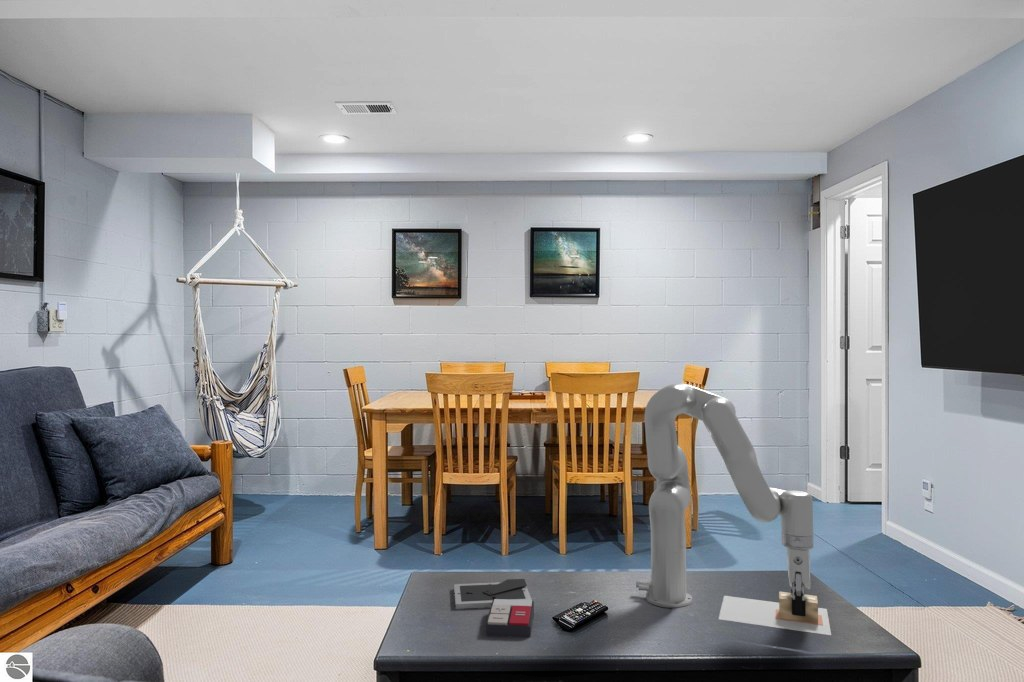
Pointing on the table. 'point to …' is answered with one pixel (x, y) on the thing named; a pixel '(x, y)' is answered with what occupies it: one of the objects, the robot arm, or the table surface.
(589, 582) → the table surface
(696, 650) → the table surface
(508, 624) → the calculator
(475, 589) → the picture frame
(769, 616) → the mat
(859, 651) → the table surface
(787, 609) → the card box
